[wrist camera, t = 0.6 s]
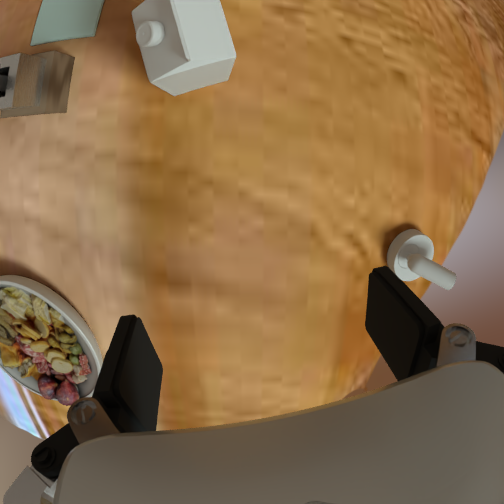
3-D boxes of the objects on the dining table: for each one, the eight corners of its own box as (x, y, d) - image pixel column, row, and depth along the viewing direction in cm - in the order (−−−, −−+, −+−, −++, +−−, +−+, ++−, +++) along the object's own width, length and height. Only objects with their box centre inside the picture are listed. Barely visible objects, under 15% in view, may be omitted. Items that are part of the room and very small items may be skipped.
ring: (12, 65, 22) (-16, 62, 16) (46, 59, 23) (20, 52, 18) (5, 110, 24) (-23, 112, 19) (39, 105, 25) (12, 106, 20)
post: (30, 64, 27) (-35, 54, 13) (74, 57, 28) (13, 38, 15) (23, 115, 30) (-44, 125, 16) (66, 112, 31) (1, 117, 18)
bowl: (-34, 295, 40) (-52, 315, 33) (43, 240, 39) (19, 262, 32) (45, 392, 53) (35, 416, 46) (136, 371, 52) (130, 402, 45)
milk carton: (214, 32, 30) (216, -35, 13) (228, 80, 33) (241, 44, 16) (160, 49, 30) (116, -5, 13) (173, 96, 33) (136, 76, 16)
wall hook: (444, 308, 41) (407, 298, 39) (416, 280, 50) (378, 267, 48) (470, 263, 38) (435, 246, 36) (437, 239, 47) (401, 222, 44)
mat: (52, -21, 21) (50, -22, 20) (115, -33, 23) (114, -34, 22) (32, 46, 25) (30, 45, 25) (94, 36, 27) (93, 35, 27)
